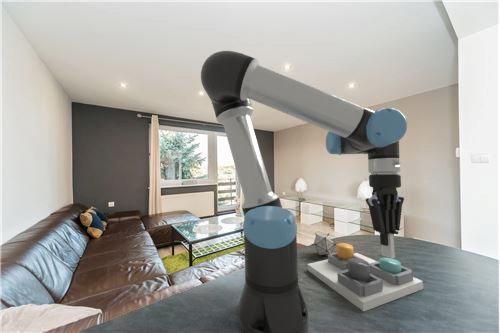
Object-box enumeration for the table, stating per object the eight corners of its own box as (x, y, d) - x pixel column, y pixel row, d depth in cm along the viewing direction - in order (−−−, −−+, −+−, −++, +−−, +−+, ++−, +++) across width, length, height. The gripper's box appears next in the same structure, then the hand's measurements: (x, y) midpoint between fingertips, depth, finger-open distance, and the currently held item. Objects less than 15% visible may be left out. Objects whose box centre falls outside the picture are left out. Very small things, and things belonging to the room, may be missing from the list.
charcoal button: (360, 283, 45) (359, 268, 46) (343, 273, 50) (343, 260, 50) (375, 278, 47) (374, 264, 47) (357, 269, 52) (356, 256, 52)
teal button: (394, 280, 49) (393, 267, 50) (375, 271, 54) (374, 259, 54) (406, 276, 51) (405, 263, 51) (387, 268, 56) (386, 256, 56)
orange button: (345, 261, 57) (345, 249, 57) (333, 255, 62) (332, 244, 62) (357, 258, 59) (356, 247, 59) (344, 252, 63) (344, 242, 63)
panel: (363, 311, 42) (362, 291, 42) (307, 270, 61) (307, 256, 61) (423, 288, 50) (422, 272, 50) (357, 258, 68) (356, 246, 68)
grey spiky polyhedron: (326, 263, 73) (336, 239, 76) (333, 264, 65) (343, 239, 68) (305, 249, 76) (315, 227, 79) (309, 250, 68) (320, 225, 71)
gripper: (381, 173, 48) (385, 266, 47) (413, 173, 53) (417, 258, 52) (356, 174, 55) (359, 254, 54) (386, 173, 60) (389, 248, 59)
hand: (387, 256), depth 53 cm, fingers closed
